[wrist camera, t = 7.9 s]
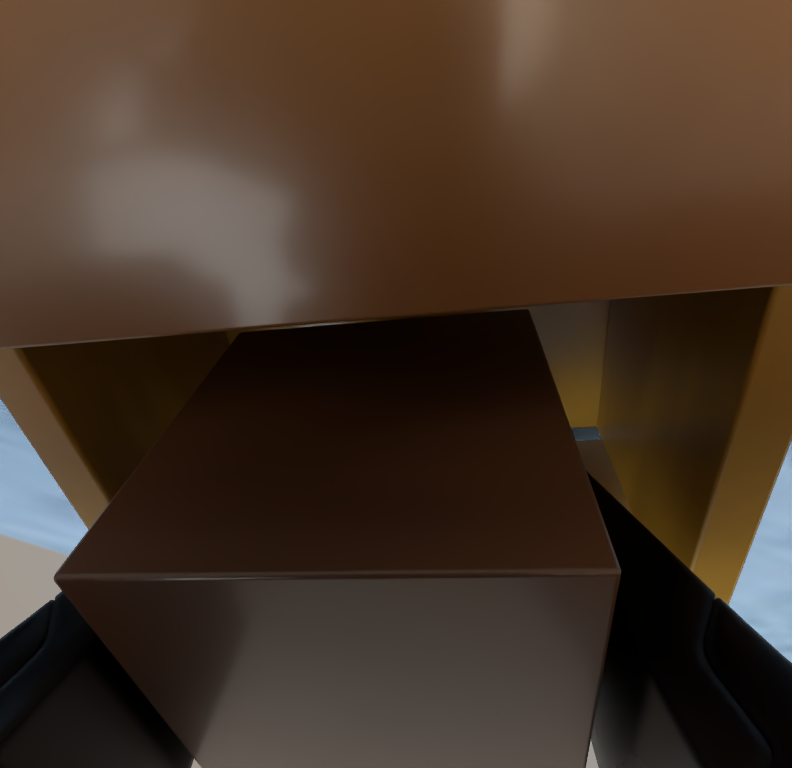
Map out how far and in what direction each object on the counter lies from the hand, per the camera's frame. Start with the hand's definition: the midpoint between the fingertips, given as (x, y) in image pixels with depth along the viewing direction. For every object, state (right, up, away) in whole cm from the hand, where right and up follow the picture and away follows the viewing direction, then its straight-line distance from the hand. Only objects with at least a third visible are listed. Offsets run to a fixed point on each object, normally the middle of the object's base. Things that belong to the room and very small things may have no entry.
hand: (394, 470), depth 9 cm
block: (0, +1, +1) cm, 1 cm away
